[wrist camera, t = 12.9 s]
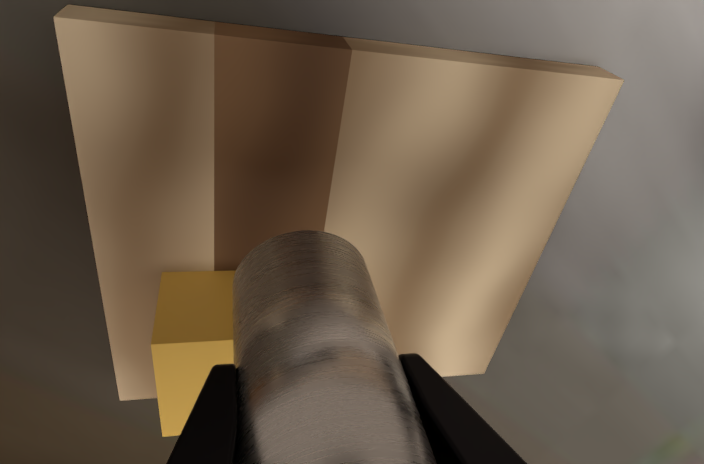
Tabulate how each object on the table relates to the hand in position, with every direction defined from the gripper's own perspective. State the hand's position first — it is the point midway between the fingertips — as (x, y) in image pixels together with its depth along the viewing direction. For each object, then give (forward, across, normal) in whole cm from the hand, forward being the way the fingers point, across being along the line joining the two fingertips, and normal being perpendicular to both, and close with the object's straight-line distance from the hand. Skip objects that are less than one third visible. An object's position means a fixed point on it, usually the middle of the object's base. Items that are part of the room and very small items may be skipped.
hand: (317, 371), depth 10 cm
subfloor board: (+10, -3, +4) cm, 11 cm away
